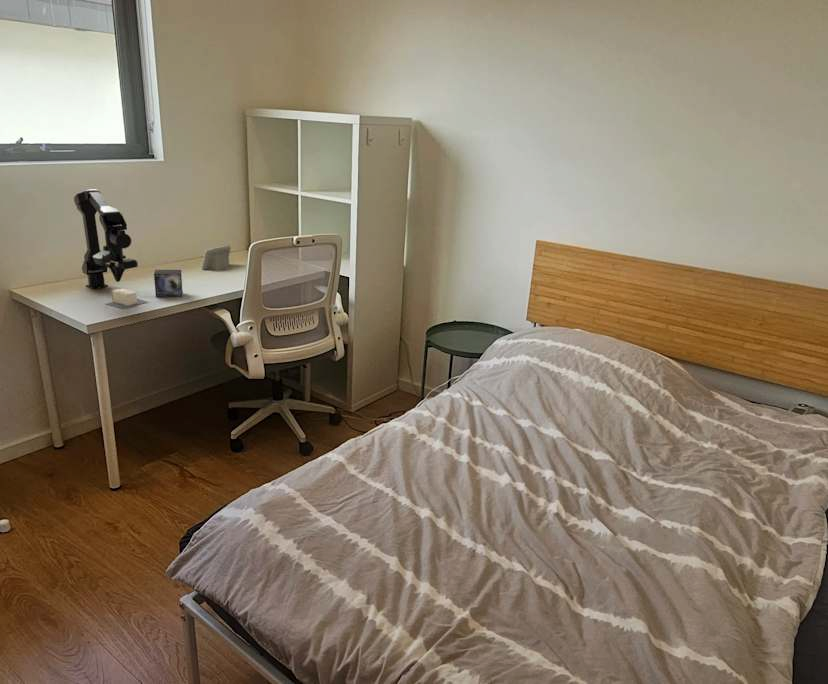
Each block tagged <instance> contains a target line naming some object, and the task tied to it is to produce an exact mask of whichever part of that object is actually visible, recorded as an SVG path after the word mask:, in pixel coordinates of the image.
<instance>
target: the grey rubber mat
mask: <svg viewBox="0 0 828 684" xmlns="http://www.w3.org/2000/svg"><path fill="white" fill-rule="evenodd" d="M147 303H148V301H147V300H143V299H140V298H137V303H136V304H132V305H128V306H127V305H124V304H120V303H117V302H114V301H111V302H108V303H105V305H107V306H111V307H114V308H117V309H121V310H124V309H128V308H132V307H136V306H140V305H143V304H147Z"/></svg>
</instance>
